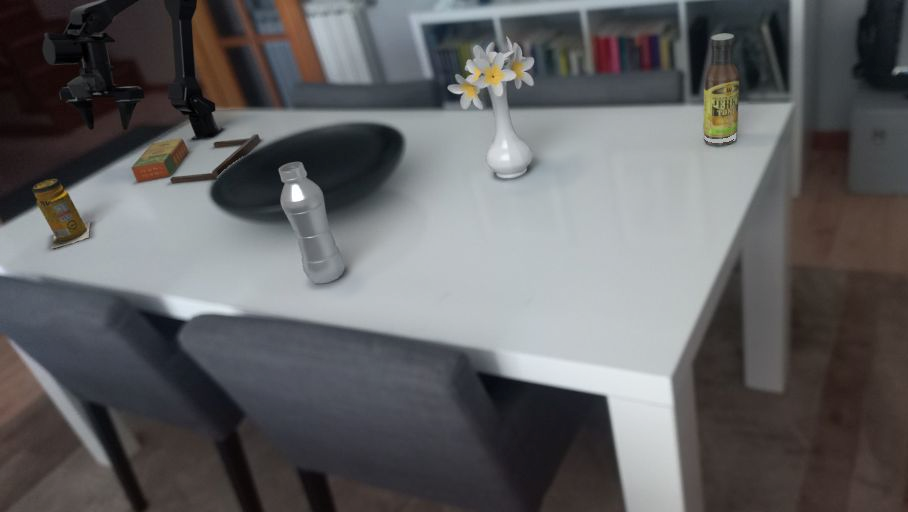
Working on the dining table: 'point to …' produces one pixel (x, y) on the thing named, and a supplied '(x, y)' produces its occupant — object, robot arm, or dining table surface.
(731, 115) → the sauce bottle
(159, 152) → the carton
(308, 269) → the plastic bottle
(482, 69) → the flower vase
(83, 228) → the condiment
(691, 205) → the dining table surface
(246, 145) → the frame
